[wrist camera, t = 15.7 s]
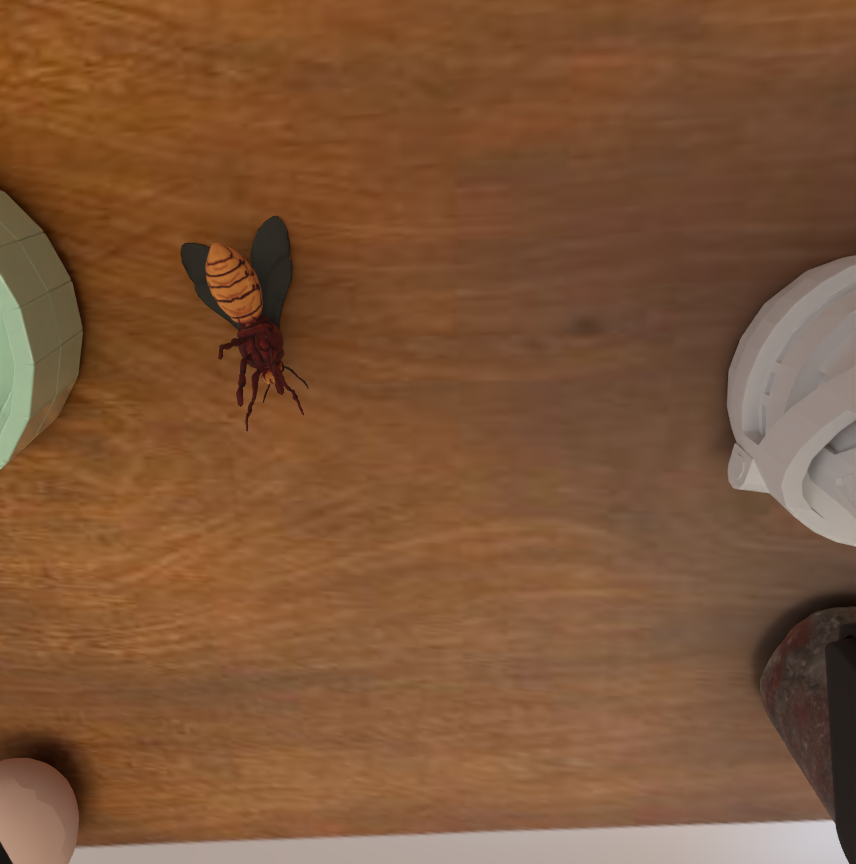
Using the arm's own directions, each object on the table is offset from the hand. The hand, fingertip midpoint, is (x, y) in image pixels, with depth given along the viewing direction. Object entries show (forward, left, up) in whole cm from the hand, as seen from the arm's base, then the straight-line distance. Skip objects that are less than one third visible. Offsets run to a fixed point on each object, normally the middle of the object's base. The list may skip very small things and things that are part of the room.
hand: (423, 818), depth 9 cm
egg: (+23, -4, -20) cm, 31 cm away
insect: (+2, -4, -17) cm, 18 cm away
